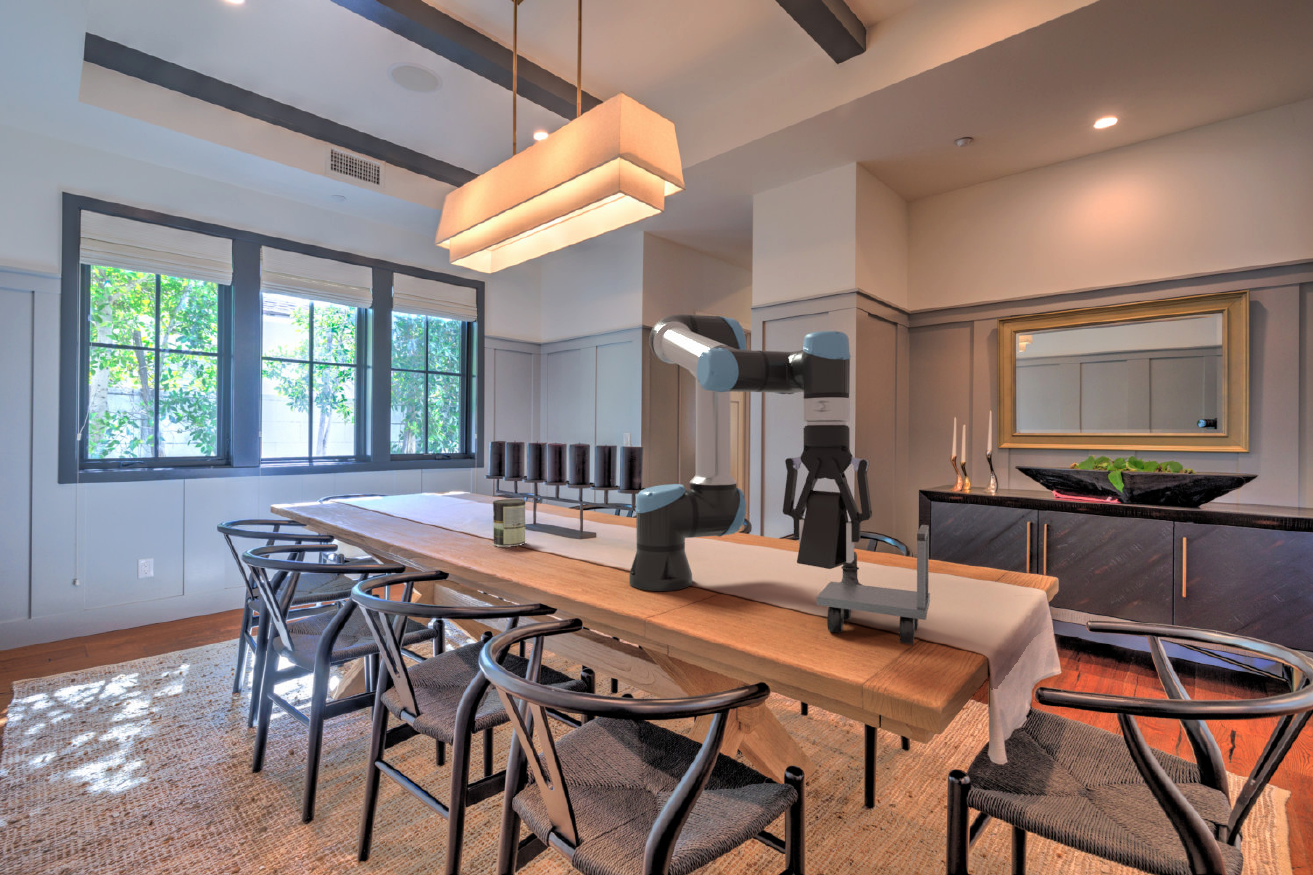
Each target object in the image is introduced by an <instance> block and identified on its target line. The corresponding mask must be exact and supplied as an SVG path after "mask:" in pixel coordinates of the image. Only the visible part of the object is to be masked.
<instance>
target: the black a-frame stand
mask: <svg viewBox="0 0 1313 875" xmlns="http://www.w3.org/2000/svg"><path fill="white" fill-rule="evenodd" d="M848 517H849V515H848V511H847V509H846V506H845V504H844V501H843V498H842V496H841V493H840V491H838V492H837V491H826V490H814V489H813V491H811V492H810V494H809V496H808V499H807V501H806V509H805V513H804V518H805V519H804V525H803V530H802V536H801V541H800V547H798V552H797V553H798V554H797V560H796V563H797V564H799V565H805V566H811V567H815V568H822V569H827V570H832V569H834V568H839V567H840V566H841V567H842V566H843V565H844V564H847V563H846V523H847V522H849V521H850V520H849V518H848ZM853 561H855V555H854V560H853Z"/></svg>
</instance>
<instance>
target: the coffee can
mask: <svg viewBox="0 0 1313 875" xmlns="http://www.w3.org/2000/svg"><path fill="white" fill-rule="evenodd" d="M492 507H493V508H492V509H493V511H492V512H493V513H492V516H493V517H492V519H493V523H492V524H493V525H492V526H493V543H492V544H493V546H494V547H496V546H497V548H512V547H511V546H517V545H520V544H523V543H525V542H526V500H525V499H519V498H509V499H508V498H506V499H497V500H494V501H492ZM525 544H526V543H525ZM517 547H518V546H517Z"/></svg>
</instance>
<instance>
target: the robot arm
mask: <svg viewBox="0 0 1313 875" xmlns="http://www.w3.org/2000/svg"><path fill="white" fill-rule="evenodd" d="M648 343H649V347H650V350H651V352H652V354H653V355H654V356H655V357H656V358H657V359H658V360H660V361H662V362H663V363H666V364H671V365H675V364H677V365H679V366H680V367H683V368H684V369H685V370H688V371H689V373H690V375H692V376H693V378H695V475H694V477H693V478H691V480H690V481H689V489H686V488H685V486H684V484H681V483H672V484H670V483H669V484H660V485H655V486H649V487H645V488H644V489H642V490H640V491H639V492H638V494H637V495H636V506H635V514H636V516H635V517H636V518H635V519H636V521H635V524H636V552H635V556H634V558H633V562H632V564H631V568H630V571H629V581H628V582H629V585H630V586H631V587H633V588H636V589H638V590H643V591H651V592H671V591H678V590H683V589H687V588H689V587H691V586H692V584H693V572H692V569H691V566H690V564H689V560H688V557H687V553H686V547H685V546H686V544H685V543H686V539H690V538H691V539H692V538H701V537H703V538H704V537H705V538H706V537H719V538H720V537H723V536H729V535H733V534H734V535H735V534H736V533H737V532H738V531H740V529H741V528H742V526H743V524H744V522H745V519H746V514H747V500H746V499H745V496H746V495H745V494H744V492H743V490H741V488H739V487H737V486H738V483H737V481H736V479H735V478H734V477H733V476H732V475H731V392H733V393H734V392H735V393H736V392H737V393H741V392H746V393H748V392H751V393H775V394H781V395H793V394H795V393H796V394H797V393H802V392H803V422H804V423H806V425H804V427H803V451H802V453H801V454H800V456H797V457H789V458H786V459H785V461H784V463H785V466H786V467H785V468H786V471H787V472H786V482H785V488H784V489H785V490H784V497H783V506H782V514H783V515H786V516H789V517H791V518H792V519H793V536H794V538H798V540H799V542H798V543H799V544H798V546H799V547H800V541H801V536H802V530H803V525H804V519H805V513H806V501H807V499H808V496H809V494H810V492H811V491H813V490H814V488H815V486H816V483H817V482H818V480H821V479H827V480H834V482H835V484H836V485H837V487H838V490H839V491H838V492H840V493H841V496H842V498H843V501H844V504H845V506H846V509H847V515H848V517H849V519H850V520H848V521H849V522H847V523H846V563H852V561H853V560H854V552H855V543H859V542H860V540H861V523H862V522H864V521H868V520H870V519H871V518H872V517H873V511H872V510H873V509H872V503H871V495H870V487H869V479H868V478H869V477H868V470H869V466H870V461H869V459H867V458H864V459H862V458H858V457H853V454H852V453H851V450H850V445H851V443H850V440H851V439H850V437H851V435H850V433H851V432H850V430H851V429H850V428H851V427H849V425H847V422H850V419H851V416H850V413H851V412H850V410H851V409H850V408H851V407H850V403H851V402H850V400H851V399H850V382H851V381H850V378H851V377H850V375H851V373H850V371H851V369H850V368H851V357H852V356H851V352H850V339H849V336H848V334H847V333H845V332H844V331H843V332H842V331H837V330H824V331H814V332H810V333H807V334H806V335H805V337H804V338H803V343H802V345H803V346H802V349H801V350H797V351H779V350H778V351H777V350H752V349H751V350H750V349H749V350H748V349H747V340H746V334H745V331H744V328H743V326H742V325H741V324H740V322H739V321H738V320H736V319H735V318H732V317H724V316H721V315H718V316H717V315H702V314H701V315H700V314H699V315H696V314H685V313H684V314H683V313H677V314H672V315H671V314H670V315H669V316H666V317H663V318H662V319H659V321H657V322H656V323H655V324H653V327H652V329H651V331H650V333H649V338H648ZM801 464H803V466H804V467H805V468H806V469H807V471H808V472H807V476H806V478H805V483H804V485H803V488H802V490H801V492H800V496H799V497H798V500H797V502H796V506H795V498H796V489H797V483H798V482H797V481H798V474H799V473H798V472H799V471H798V470H799V469H800V468H801ZM851 465H852V466H853V470H854V471H855V472H856V477H857V484H858V486H857V487H858V494H859V500H860V509H861V512H860V511H859V509H858V506H857V504H856V501H855V498H854V496H853V493H852V491H851V488H850V486H849V483H848V479H847V477H846V474H845V472H846V471H847V469H848V468H849V466H851ZM794 506H795V508H794ZM799 547H798V548H799Z"/></svg>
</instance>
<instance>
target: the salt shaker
mask: <svg viewBox="0 0 1313 875" xmlns="http://www.w3.org/2000/svg"><path fill="white" fill-rule="evenodd" d="M854 555H855V561H852V563H847V564H844V565H841V570H842V578H841V581H840V582H839V581H838V582H839V583H848V584H857V585H863V584H861V583H860V582H859V579H858V570H860V568H859V567H858V554H857V552H856V551H854Z"/></svg>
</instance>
